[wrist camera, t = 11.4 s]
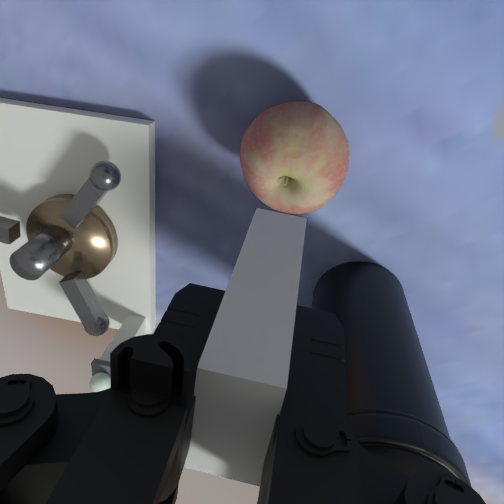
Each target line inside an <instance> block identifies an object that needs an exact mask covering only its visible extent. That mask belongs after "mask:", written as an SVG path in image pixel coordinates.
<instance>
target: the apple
mask: <svg viewBox="0 0 504 504" xmlns="http://www.w3.org/2000/svg"><path fill="white" fill-rule="evenodd" d="M240 162H241V168H242V172H243V175H244V178H245V180H246V183H247V185H248V186H249V188H250V190H251V191H252V192H253V193H254V195H255V196H256V197H257V198H258V199H259V200H261V201H262V202H263V203H264V204H266V205H267V206H269V207H271V208H272V209H275V210H278V211H280V212H284V213H289V214H303V213H308V212H312V211H315V210H317V209H319V208H321V207H322V206H324V205H325V204H326V203H327V202H328V201H329V200H330V199H331V198H332V197H333V196H334V195H335V194H336V192H337V191H338V190H339V188H340V187H341V185H342V183H343V181H344V179H345V176H346V173H347V169H348V163H349V148H348V142H347V138H346V135H345V133H344V131H343V129H342V128H341V126H340V125H339V123H338V122H337V121H336V120H335V119H334V118H333V117H332V115H331V114H330V113H329V112H328V111H327V110H325V109H324V108H323V107H321V106H320V105H318V104H316V103H312V102H305V101H290V102H285V103H282V104H279V105H275V106H272V107H270V108H267V109H266V110H264V111H263V112H261V113H260V114H259V115H258V116H257V117H256V118H255V119H254V120H253V121H252V122H251V124H250V125H249V126H248V128H247V129H246V131H245V133H244V135H243V138H242V142H241V149H240Z"/></svg>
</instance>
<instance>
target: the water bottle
mask: <svg viewBox="0 0 504 504" xmlns="http://www.w3.org/2000/svg"><path fill="white" fill-rule="evenodd" d="M312 309H316V310H320V311H325V312H329V313H334V314H335V315H336V316H337V318H338V320H339V322H340V323H341V325H342V327H343V328H344V337H345V348H344V349H345V364H346V390H347V416H348V422H349V426H350V428H351V430H352V431H353V433H354V435H355V438H356V439H357V441H358V442H359V444H360V445H361V446H362V447H363V448H364V449H365V450H366V451H367V452H368V453H369V454H370V455H372V456H373V457H375V458H376V459H378V460H379V461H381V462H382V463H384V464H386V465H388V466H389V467H391V468H393V469H395V470H397V471H398V472H400V473H402V474H404V475H406V476H408V477H409V478H411V477H412V476H413V475H414V474H415V473H416V472H417V471H422V470H427V469H435V470H440V471H444V472H448V473H450V474H452V475H454V476H455V477H457V478H459V479H461V480H463V481H464V482H466V483H467V484H468V485H469V486H470V487H471V484H470V480H469V477H468V473H467V470H466V467H465V463H464V461H463V458H462V456H461V455H460V453H459V451H458V449H457V448H456V446H455V445H454V443H453V442H452V441H451V439H450V436H449V433H448V430H447V427H446V424H445V421H444V418H443V414H442V411H441V408H440V405H439V402H438V399H437V395H436V392H435V389H434V386H433V383H432V380H431V376H430V373H429V370H428V367H427V364H426V361H425V358H424V354H423V351H422V348H421V345H420V342H419V339H418V335H417V332H416V329H415V326H414V323H413V320H412V317H411V313H410V310H409V307H408V304H407V301H406V298H405V294H404V291H403V288H402V286H401V284H400V282H399V280H398V279H397V278H396V277H395V275H394V274H392V273H391V272H390V271H389V270H387V269H385V268H384V267H382V266H379V265H377V264H373V263H369V262H349V263H344V264H341V265H338V266H336V267H334V268H332V269H331V270H329V271H328V272H326V273H325V274H324V275H323V276H322V277H321V278H320V280H319V281H318V283H317V284H316V287H315V289H314V293H313V302H312ZM471 488H472V487H471Z"/></svg>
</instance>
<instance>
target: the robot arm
mask: <svg viewBox="0 0 504 504" xmlns="http://www.w3.org/2000/svg"><path fill="white" fill-rule="evenodd" d="M306 221H307V218H303V217H298V216H293V215H288V214H284V213H279V212H274V211H269V210H265V209H260V208H256V211H255V213H254V216H253V219H252V221H251V224H250V227H249V229H248V232H247V235H246V237H245V240H244V243H243V246H242V248H241V251H240V254H239V256H238V259H237V262H236V264H235V267H234V270H233V272H232V275H231V278H230V281H229V283H228V286H227V289H226V291H223V290H219V289H214V288H210V287H205V286H201V285H196V284H191V283H190V284H188V285H187V286H186V287H184V288H183V289H181V290H180V291H178V292H177V293H175V295H174V297H173V299H172V301H171V303H170V304H169V306H168V309H167V311H166V312H165V314H164V315H163V317H162V319H161V323H159V325H158V327H157V328H156V330H155V332H154V334H146V335H141V336H135V337H132V338H130V339H128V340H126V341H124V342H122V343H120V344H119V345H118V346H117V347H116V348H115V349H114V350H113V351H112V352H111V353H110V376H111V388H109V389H106V390H102V391H99V392H92V393H82V394H58V395H56V394H55V391H54V388H53V386H52V385H51V384H50V383H49V382H47V381H46V380H45V379H44V378H42V377H38V376H35V375H31V374H12V375H9V376H5V377H1V378H0V504H175V502H176V499H177V492H178V483H179V479H180V476H181V473H182V470H183V467H184V464H185V468H188V469H193V470H196V471H200V472H204V473H208V474H212V475H216V476H221V477H225V478H229V479H233V480H237V481H241V482H245V483H249V484H253V485H257V486H260V491H259V498H258V502H257V504H486V503H485V502H484V501H483V499H482V498H481V496H480V495H479V494H478V493H477V492H476V491H475V490H473V489H472V488H471V487H470V486H469V485H468V484H467V483H466V482H464V481H463V480H461V479H459V478H457V477H455V476H454V475H452V474H450V473H448V472H444V471H440V470H435V469H427V470H422V471H417V472H416V473H415V474H414V475H413V476H412V477H411V478H409V477H408V476H406V475H404V474H402V473H400V472H398V471H397V470H395V469H393V468H391V467H389V466H388V465H386V464H384V463H382V462H381V461H379V460H378V459H376V458H375V457H373V456H372V455H370V454H369V453H368V452H367V451H366V450H365V449H364V448H363V447H362V446H361V445H360V444H359V442H358V441H357V439H356V438H355V435H354V433H353V431H352V430H351V428H350V426H349V422H348V416H347V390H346V364H345V349H344V348H345V337H344V328H343V327H342V325H341V323H340V322H339V320H338V318H337V316H336V315H335V314H334V313H329V312H325V311H320V310H316V309H311V308H307V307H302V306H298V305H297V298H298V289H299V281H300V272H301V264H302V255H303V247H304V238H305V230H306ZM185 460H186V462H185Z"/></svg>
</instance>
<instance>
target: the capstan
mask: <svg viewBox="0 0 504 504" xmlns="http://www.w3.org/2000/svg"><path fill="white" fill-rule="evenodd" d="M120 181H121V172H120V170H119V168H118V167H117V166H116V165H115V164H114V163H112V162H109V161H100V162H97V163H96V164H94V165H93V166H92V168H91V170H90V174H89V178H88V179H87V180H86V182H85V183H84V184H83V186H82V187H81V188H80V190H79V191H78V192H77V194H76V195H73V194H60V195H55V196H53V197H51V198H49V199H47V200H46V201H44V202H43V203H41V204H40V205H38V206H37V207H36V208H34V209H33V211H32V212H31V213H30V215H29V217H28V220H27V224H26V233H27V238H28V242H26V243H25V244H24V245H23V246H21V247H20V248H19V249H17V250H16V251H15V252H13V253H12V254H11V256H10V265H11V268H12V269H13V271H14V272H15V273H16V274H17V275H18V276H20V277H21V278H23V279H26V280H37V279H38V278H40V277H41V276H42V275H43V274H44V273H45V272H46V271H47V270H48V269H51V270H52V271H54V272H56V273H58V274H60V275H62V276H65V277H64V278H63V279H62V280H61V281H60V282H59V284H60V286H61V287H62V289H63V291H64V293H65V294H66V296H67V298H68V300H69V301H70V303H71V305H72V307H73V308H74V310H75V312H76V314H77V315H78V317H79V319H80V320H81V322H82V324H83V325H84V329H85V330H86V332H87V333H88V334H90V335H93V336H99V335H102V334H104V333H105V332H106V331H107V330H108V328H109V324H110V321H109V318H108V316H107V315H106V314H105V312H104V310H103V308H102V307H101V305H100V303H99V301H98V299H97V297H96V295H95V294H94V292H93V290H92V288H91V286H90V284H89V282H88V281H87V279H89V278H92V277H95V276H97V275H98V274H100V273H101V272H102V271H103V270H104V269H105V268H106V267H107V266H108V265H109V263H110V262H111V261H112V260H113V258H114V257H115V255H116V252H117V248H118V238H117V233H116V230H115V227H114V225H113V223H112V221H111V220H110V218H109V217H108V216H107V214H106V213H105V212H104V211H103V210H102V209H101V208H100V207H98V206H97V204H98V203H99V202H100V201H101V200H102V198H103V197H104V196H105V195H106V193H107V192H108V191H111V190H114V189H115V188H116V187H117V186H118V185H119V184H120ZM19 237H21V234H20V221H17V220H13V219H10V218H6V217H3V216H0V242H2V243H5V244H9V245H10V244H11V243H13V242H14V241H15V240H17V239H18V238H19Z"/></svg>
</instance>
